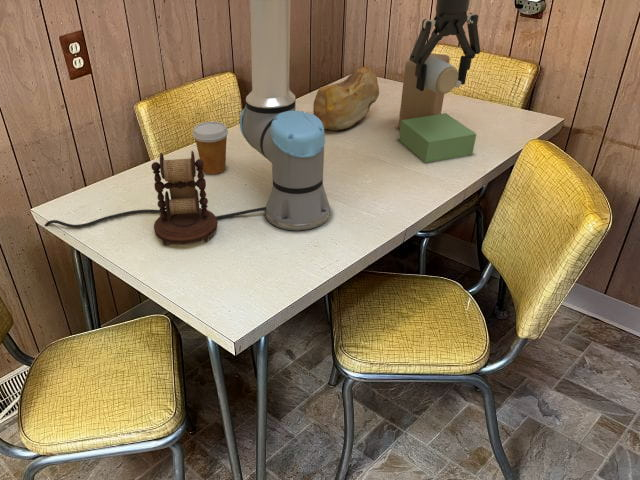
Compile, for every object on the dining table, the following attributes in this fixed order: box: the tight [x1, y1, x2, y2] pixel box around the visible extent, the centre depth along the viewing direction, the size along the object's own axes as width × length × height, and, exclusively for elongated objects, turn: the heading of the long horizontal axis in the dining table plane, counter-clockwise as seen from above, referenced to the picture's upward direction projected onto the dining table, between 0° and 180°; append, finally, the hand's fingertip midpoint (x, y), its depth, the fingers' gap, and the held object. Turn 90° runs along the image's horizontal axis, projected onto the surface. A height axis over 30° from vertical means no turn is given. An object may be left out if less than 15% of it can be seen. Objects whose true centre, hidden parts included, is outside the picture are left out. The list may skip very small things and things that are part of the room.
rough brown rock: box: [312, 65, 380, 132], centre depth 181 cm, size 23×17×15 cm
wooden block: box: [398, 52, 451, 129], centre depth 171 cm, size 10×10×20 cm
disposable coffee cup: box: [192, 121, 229, 175], centre depth 159 cm, size 10×10×12 cm
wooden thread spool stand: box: [150, 150, 218, 246], centre depth 132 cm, size 15×15×20 cm
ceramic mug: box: [424, 57, 462, 95], centre depth 151 cm, size 11×8×8 cm
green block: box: [398, 112, 477, 164], centre depth 164 cm, size 14×16×6 cm
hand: (440, 86), depth 154 cm, fingers closed on ceramic mug, 11 cm apart
